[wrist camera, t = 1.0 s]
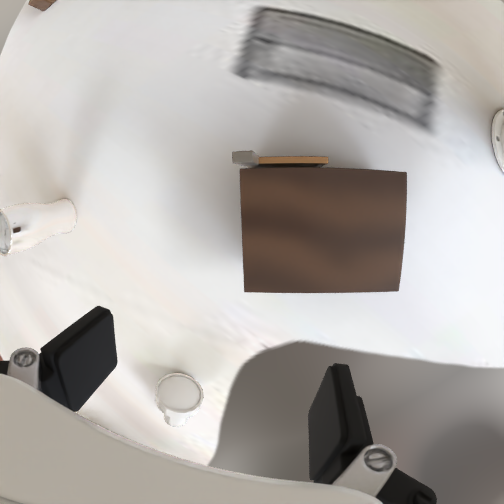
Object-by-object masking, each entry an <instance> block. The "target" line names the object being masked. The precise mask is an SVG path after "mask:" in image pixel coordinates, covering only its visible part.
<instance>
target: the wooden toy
mask: <svg viewBox="0 0 504 504" xmlns="http://www.w3.org/2000/svg"><path fill="white" fill-rule="evenodd" d="M55 1H56V0H30V1H29V5H31V6H33V7H35V8H38V9H40V10H42V11H45V10H46V9H47V8H48V7H49V6H51V5H52V3H54V2H55Z"/></svg>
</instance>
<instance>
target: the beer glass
mask: <svg viewBox="0 0 504 504" xmlns="http://www.w3.org/2000/svg"><path fill="white" fill-rule="evenodd" d="M76 221H77V214H76V209H75V207H74V205H73V203H72V202H71V201H70V200H68V199H61V200H59V201H57V202H54V203H50V204H42V203H22V204H16V205H12V206H9V207H6V208H3V209H0V254H1V255H2V256H7V255H11V254H15V253H19V252H22V251H25V250H28V249H30V248H32V247H34V246H36V245H38V244H40V243H41V242H43V241H44V240H46V239H48V238H49V237H51V236H53V235H55V234H64V233H70V232H71V231H72V230H73V229H74V228H75V225H76Z"/></svg>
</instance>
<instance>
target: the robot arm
mask: <svg viewBox="0 0 504 504" xmlns="http://www.w3.org/2000/svg"><path fill="white" fill-rule="evenodd" d="M492 143H493V149H494V152H495V156H496V158H497V161H498V163H499V165H500V168H501V169H502V171H503V172H504V109H503V110H500V111H499V112H497V113H496V115H495V116H494V119H493V123H492ZM40 349H41V353H40V354H38V352H37V351H35V350H34V349H32V348H20V349H17V350H16V351H14V352H13V353H12V355H11V357H10V361H0V504H436V502H437V501H436V500H437V498H436V495H435V493H434V491H433V490H432V489H430V488H429V487H427V486H425V485H424V484H422V483H420V482H418V481H417V480H415V479H413V478H412V477H410V476H408V475H407V474H405V473H403V472H402V471H400V470H398V469H397V468H395V467H396V464H397V458H396V456H395V454H394V452H393V451H392V450H391V449H389V448H388V447H386V446H383V445H379V444H373V440H372V436H371V431H370V427H369V424H368V419H367V416H366V412H365V408H364V404H363V400H362V398H361V397H360V396H356V392H355V388H354V384H353V380H352V377H351V373H350V369H349V366H348V365H345V364H337V363H335V364H333V366H329V367H328V369H327V371H326V373H325V376H324V378H323V381H322V383H321V385H320V388H319V390H318V392H317V394H316V397H315V399H314V401H313V403H312V406H311V408H310V410H309V414H308V425H309V469H310V470H309V472H310V473H309V474H310V480H314V483H309V482H300V481H289V480H280V479H273V478H266V477H260V476H254V475H247V474H242V473H236V472H231V471H227V470H222V469H218V468H214V467H210V466H206V465H202V464H198V463H195V462H191V461H188V460H185V459H181V458H178V457H175V456H172V455H169V454H166V453H163V452H160V451H157V450H155V449H152V448H149V447H147V446H144V445H141V444H139V443H136V442H134V441H132V440H129V439H127V438H125V437H122V436H120V435H118V434H116V433H114V432H111V431H109V430H107V429H105V428H103V427H101V426H99V425H97V424H95V423H93V422H91V421H89V420H87V419H86V418H84V417H82V416H80V415H78V414H76V413H75V412H74V411H76V412H77V411H78V410H79V409H80V408H81V407H82V406H83V405H84V403H85V402H86V401H87V400H88V399H89V398H90V396H91V395H92V394H93V393H94V392H95V391H96V389H97V388H98V387H99V386H100V385H101V384H102V382H103V381H104V380H105V379H106V378H107V377H108V375H109V374H110V373H111V372H112V371H113V370H114V369H115V367H116V365H117V353H116V344H115V334H114V321H113V315H112V314H111V312H110V310H109V309H106V308H103V307H101V306H97V307H95V308H94V309H92V310H91V311H90V312H88V313H87V314H85V315H84V316H83V317H81V318H80V319H79V320H77V321H76V322H75V323H73V324H72V325H71V326H69V327H68V328H67V329H65V330H64V331H63V332H61V333H60V334H59V335H57V336H56V337H55V338H53V339H52V340H51V341H50V342H48V343H47V344H46V345H44V346H43V347H42V348H40Z"/></svg>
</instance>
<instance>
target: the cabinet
mask: <svg viewBox="0 0 504 504" xmlns="http://www.w3.org/2000/svg"><path fill="white" fill-rule="evenodd" d="M240 193H241V220H242V246H243V271H244V292H263V293H353V292H390V291H399V284H400V277H401V269H402V260H403V250H404V239H405V225H406V201H407V173H406V172H397V171H384V170H369V169H350V168H315V167H282V168H246V169H240Z"/></svg>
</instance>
